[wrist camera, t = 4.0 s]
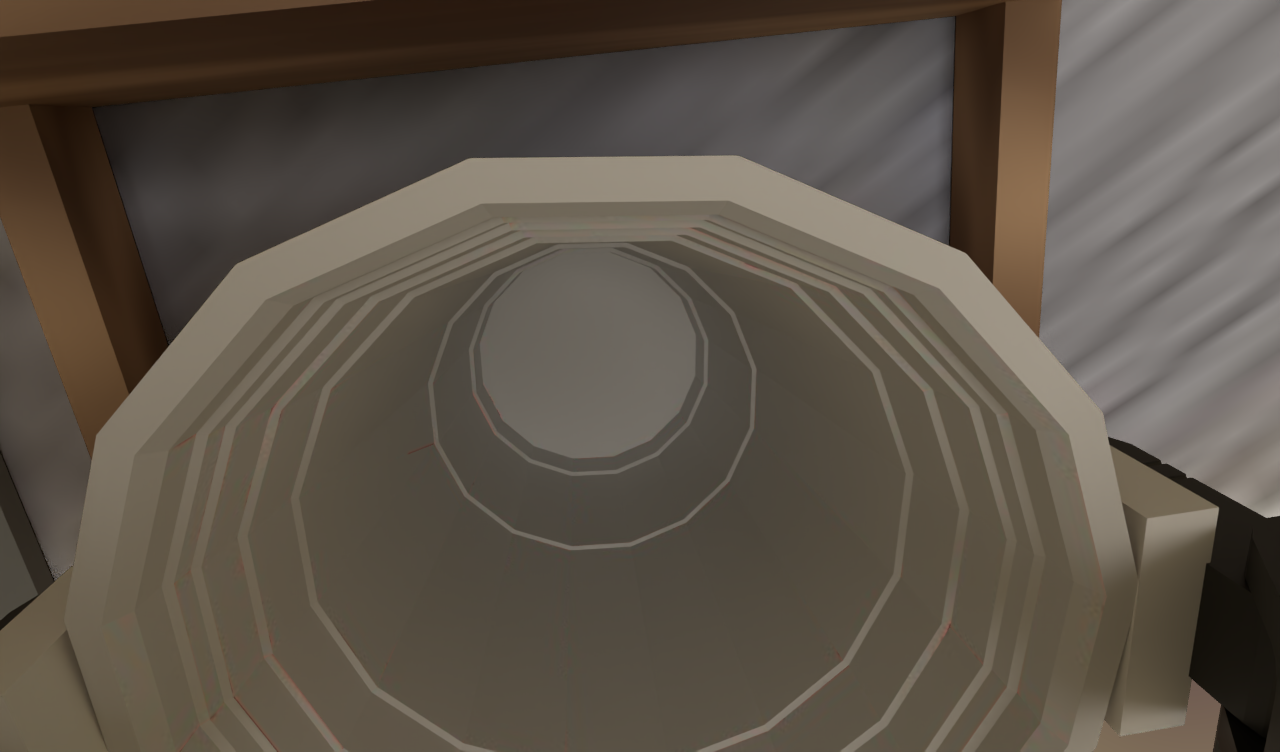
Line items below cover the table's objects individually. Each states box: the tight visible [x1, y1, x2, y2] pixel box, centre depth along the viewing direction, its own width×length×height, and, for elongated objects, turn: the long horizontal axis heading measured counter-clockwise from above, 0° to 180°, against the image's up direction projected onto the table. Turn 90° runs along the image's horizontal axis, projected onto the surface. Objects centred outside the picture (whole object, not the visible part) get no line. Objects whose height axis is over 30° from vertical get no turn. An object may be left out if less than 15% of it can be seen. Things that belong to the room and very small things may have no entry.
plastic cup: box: [64, 155, 1138, 752], centre depth 13 cm, size 11×11×12 cm
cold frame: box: [0, 0, 1062, 460], centre depth 14 cm, size 16×21×9 cm
